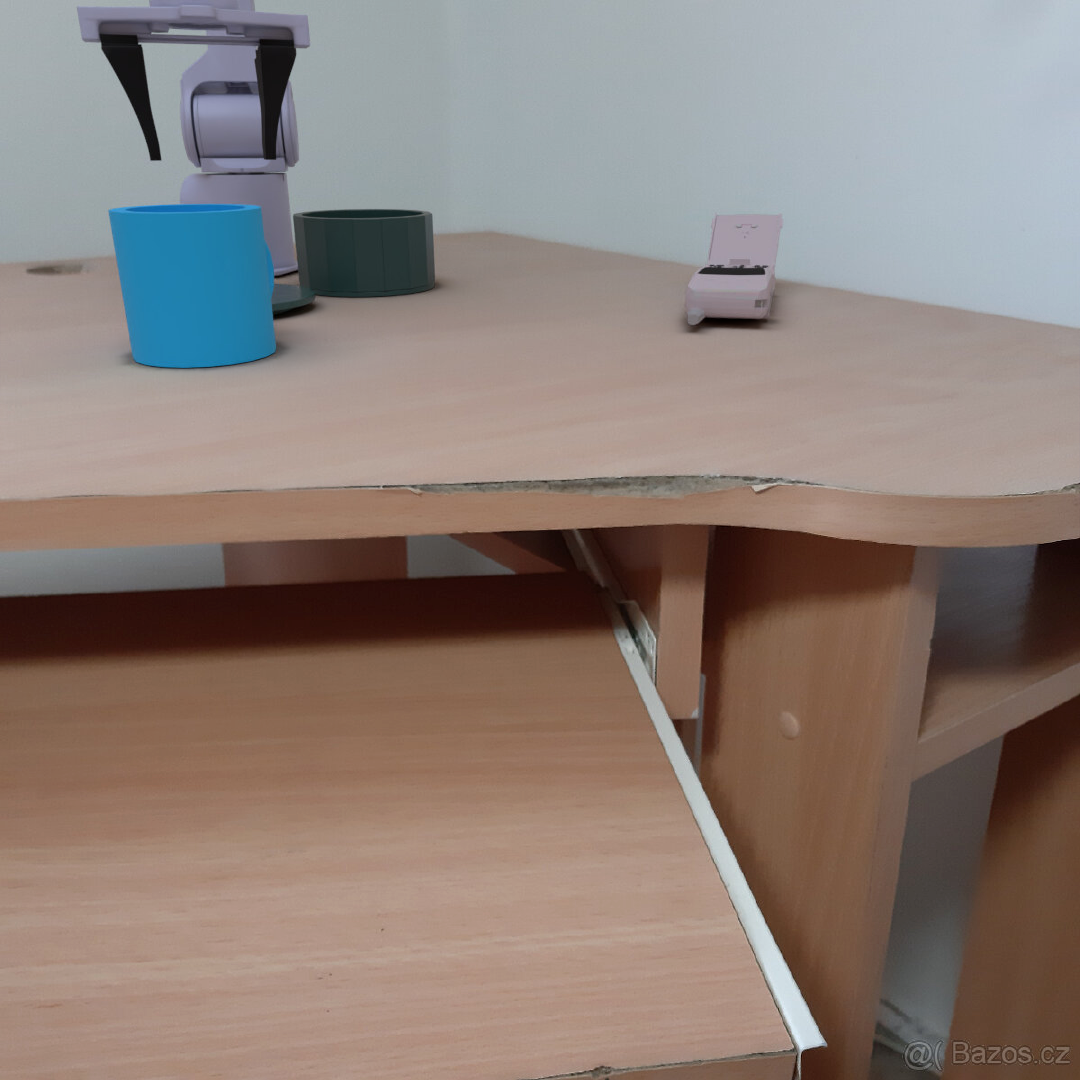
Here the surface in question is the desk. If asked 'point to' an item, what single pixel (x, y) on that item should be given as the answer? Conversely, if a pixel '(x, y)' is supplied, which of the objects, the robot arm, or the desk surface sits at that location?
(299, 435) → the desk surface
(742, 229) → the pale pink hinged device
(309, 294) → the lid
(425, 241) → the tin
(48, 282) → the desk surface
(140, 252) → the mug
